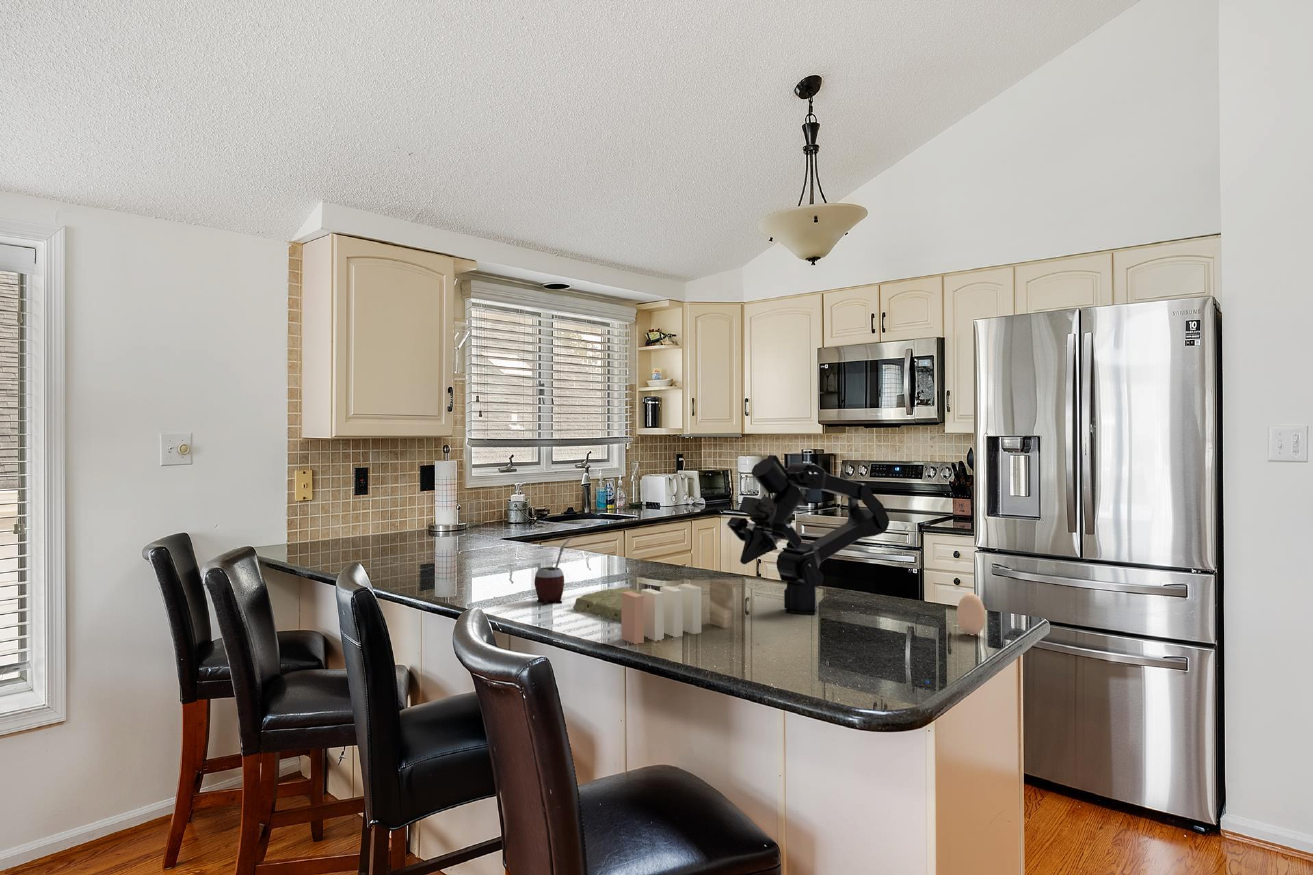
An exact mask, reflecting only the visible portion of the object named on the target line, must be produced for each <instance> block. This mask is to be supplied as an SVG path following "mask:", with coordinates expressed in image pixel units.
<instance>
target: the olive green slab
mask: <svg viewBox="0 0 1313 875" xmlns="http://www.w3.org/2000/svg"><path fill="white" fill-rule="evenodd" d="M641 590H642V589H641ZM641 590H639V589H638V590H637V589H631V588H629V587H623V586H622V587H621V586H620V587H617V588H608V589H603V590H597V591H595V592H592V593H590V592H589V593H586V594H583V595H581V596H580V597H577V598H576V599H575V601H574V602H575V603H574V604H573V606H572V610H574V611H575V610H576V611H575V612H579V611H581V613H588V614H591V613H592V614H591V615H594V616H598V615H600V616H599V617H601V618H603V617H605V618H604V619H608V618H609V620H612V619H615V620H614V621H618V620H621V592H628V591H631V592H634V593H637V594H640V595H641Z"/></svg>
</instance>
